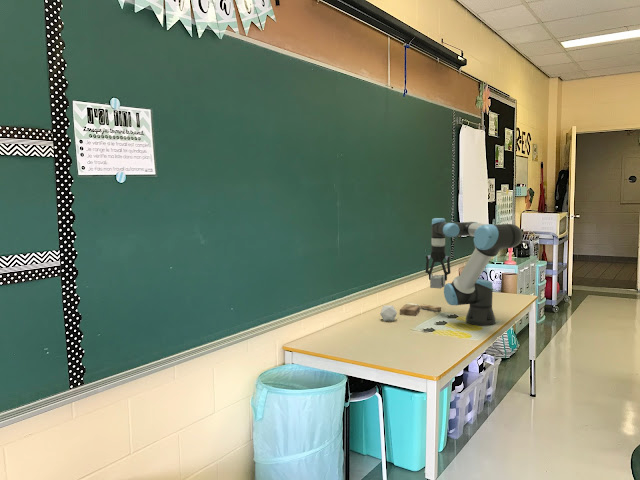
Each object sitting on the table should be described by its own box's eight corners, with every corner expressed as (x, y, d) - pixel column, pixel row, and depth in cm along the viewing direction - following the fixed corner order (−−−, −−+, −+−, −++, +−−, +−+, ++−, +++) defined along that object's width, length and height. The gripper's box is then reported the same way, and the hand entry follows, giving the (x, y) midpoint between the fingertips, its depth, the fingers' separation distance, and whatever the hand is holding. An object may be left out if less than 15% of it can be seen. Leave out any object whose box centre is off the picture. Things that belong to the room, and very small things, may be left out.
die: (392, 324, 270) (401, 308, 272) (377, 315, 271) (386, 300, 273) (390, 326, 278) (398, 310, 280) (376, 317, 279) (384, 302, 281)
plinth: (419, 310, 297) (419, 305, 297) (415, 315, 285) (415, 310, 285) (404, 309, 300) (404, 304, 300) (399, 314, 288) (399, 309, 288)
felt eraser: (441, 311, 296) (441, 307, 296) (437, 312, 294) (437, 308, 293) (423, 308, 305) (423, 304, 305) (420, 309, 302) (420, 305, 302)
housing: (445, 285, 288) (445, 274, 288) (440, 288, 280) (440, 277, 279) (435, 284, 291) (435, 274, 291) (430, 287, 282) (430, 276, 282)
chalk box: (419, 309, 301) (419, 304, 301) (416, 310, 299) (416, 305, 298) (407, 307, 306) (407, 302, 306) (404, 309, 304) (404, 303, 303)
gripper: (456, 245, 283) (456, 285, 285) (422, 244, 290) (422, 283, 292) (454, 246, 276) (454, 288, 278) (419, 245, 283) (419, 285, 286)
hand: (437, 285), depth 285 cm, fingers closed on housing, 6 cm apart
